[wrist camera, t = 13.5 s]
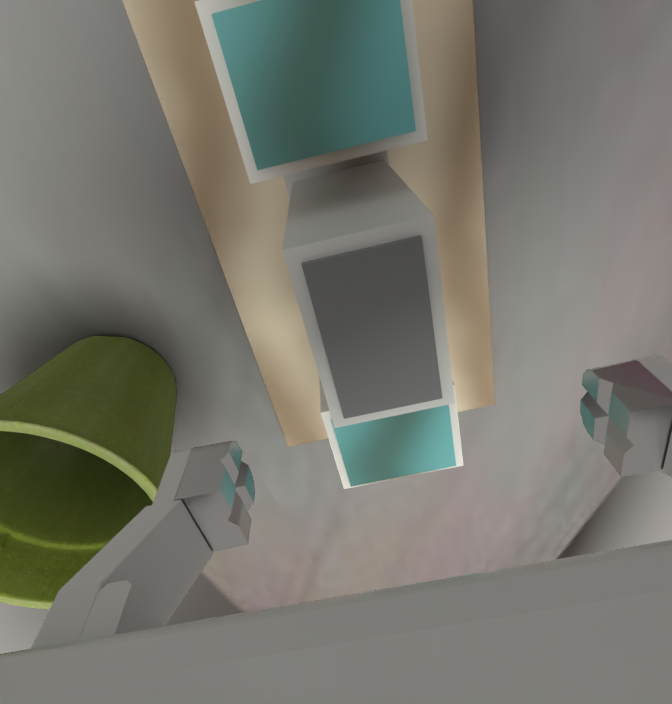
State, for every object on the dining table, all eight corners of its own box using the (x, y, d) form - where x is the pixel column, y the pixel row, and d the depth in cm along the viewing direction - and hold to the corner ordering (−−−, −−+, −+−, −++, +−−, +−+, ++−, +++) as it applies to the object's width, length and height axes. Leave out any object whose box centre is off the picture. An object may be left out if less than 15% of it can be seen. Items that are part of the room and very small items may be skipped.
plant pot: (186, 470, 34) (136, 629, 24) (9, 418, 30) (-131, 578, 21) (243, 341, 28) (210, 479, 19) (37, 262, 25) (-132, 379, 16)
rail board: (456, -130, 18) (564, -281, 10) (488, 393, 31) (546, 495, 24) (118, -34, 19) (-9, -105, 11) (289, 434, 32) (283, 546, 25)
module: (384, 160, 22) (435, 216, 13) (405, 292, 25) (456, 406, 17) (292, 182, 22) (282, 252, 13) (325, 310, 26) (334, 431, 17)
